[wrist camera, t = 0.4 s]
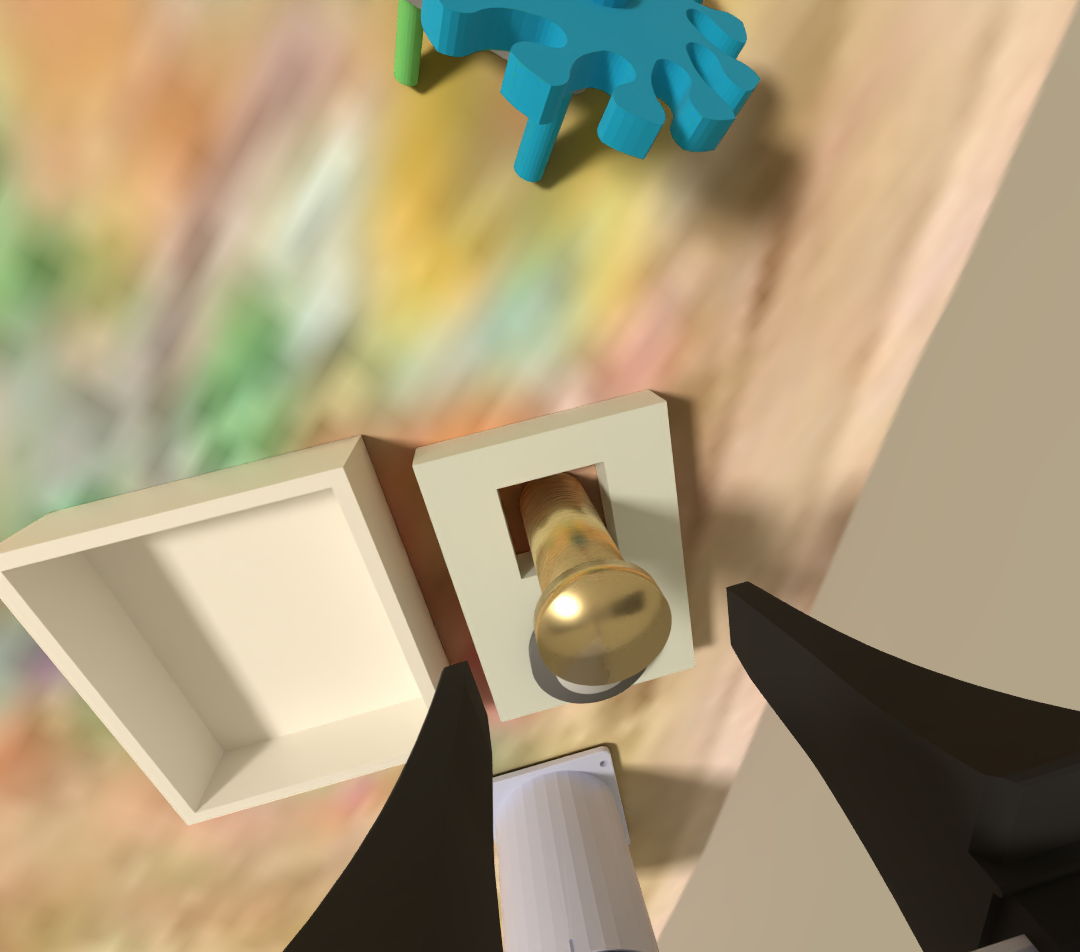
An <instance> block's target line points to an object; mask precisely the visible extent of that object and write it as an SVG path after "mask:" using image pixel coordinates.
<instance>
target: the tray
mask: <svg viewBox="0 0 1080 952" xmlns="http://www.w3.org/2000/svg"><path fill="white" fill-rule="evenodd" d="M0 599H1V600H2V601H3V602H4V604H5V605H6V606H7V607H8V608H9V610H10V611H11V612H12V613H13V614H14V616H15V617H16V618H17V619H18V620H19V622H20V623H21V624H22V625H23V627H24V628H25V629H26V630H27V631H28V633H29V634H30V635H31V636H32V637H33V639H34V640H35V641H36V642H37V643H38V645H39V646H40V647H41V648H42V650H43V651H44V652H45V653H46V654H47V656H48V657H49V658H50V659H51V660H52V662H53V663H54V664H55V665H56V666H57V668H58V669H59V670H60V671H61V673H62V674H63V675H64V676H65V677H66V679H67V680H68V681H69V682H70V683H71V685H72V686H73V687H74V688H75V689H76V691H77V692H78V693H79V694H80V696H81V697H82V698H83V699H84V700H85V702H86V703H87V704H88V705H89V706H90V708H91V709H92V710H93V711H94V712H95V714H96V715H97V716H98V717H99V719H100V720H101V721H102V722H103V723H104V725H105V726H106V727H107V728H108V729H109V731H110V732H111V733H112V734H113V735H114V737H115V738H116V739H117V740H118V742H119V743H120V744H121V745H122V746H123V748H124V749H125V750H126V751H127V752H128V754H129V755H130V756H131V757H132V758H133V760H134V761H135V762H136V763H137V765H138V766H139V767H140V768H141V769H142V771H143V772H144V773H145V774H146V775H147V777H148V778H149V779H150V780H151V781H152V783H153V784H154V785H155V786H156V788H157V789H158V790H159V791H160V792H161V794H162V795H163V796H164V797H165V798H166V800H167V801H168V802H169V803H170V804H171V806H172V807H173V808H174V809H175V811H176V812H177V813H178V814H179V815H180V817H181V818H182V819H183V820H184V821H185V823H186V824H187V825H192V824H195V823H199V822H202V821H206V820H209V819H213V818H216V817H219V816H223V815H226V814H230V813H233V812H237V811H240V810H244V809H247V808H251V807H254V806H258V805H261V804H265V803H268V802H272V801H275V800H279V799H282V798H286V797H289V796H293V795H296V794H300V793H303V792H307V791H310V790H314V789H317V788H321V787H324V786H328V785H331V784H335V783H338V782H342V781H345V780H349V779H352V778H356V777H359V776H362V775H366V774H369V773H373V772H376V771H380V770H383V769H387V768H390V767H394V766H397V765H401V764H404V763H406V762H407V760H408V758H409V755H410V753H411V751H412V749H413V747H414V745H415V742H416V740H417V737H418V735H419V733H420V730H421V728H422V725H423V723H424V720H425V718H426V715H427V713H428V710H429V707H430V705H431V702H432V699H433V697H434V694H435V691H436V688H437V685H438V682H439V679H440V676H441V672H442V670H443V669H444V667H447V666H450V665H449V662H448V660H447V657H446V655H445V652H444V649H443V647H442V644H441V642H440V639H439V636H438V634H437V631H436V629H435V626H434V623H433V621H432V618H431V615H430V613H429V610H428V608H427V605H426V602H425V600H424V597H423V595H422V592H421V589H420V587H419V584H418V582H417V579H416V576H415V574H414V571H413V569H412V566H411V563H410V561H409V558H408V556H407V553H406V550H405V548H404V545H403V543H402V540H401V537H400V535H399V532H398V530H397V527H396V524H395V522H394V519H393V517H392V514H391V511H390V509H389V506H388V504H387V501H386V498H385V496H384V493H383V491H382V488H381V485H380V483H379V480H378V478H377V475H376V472H375V470H374V467H373V465H372V462H371V459H370V457H369V454H368V451H367V449H366V446H365V444H364V441H363V438H362V436H361V435H358V436H354V437H350V438H346V439H342V440H338V441H334V442H330V443H326V444H322V445H318V446H314V447H310V448H306V449H302V450H298V451H294V452H290V453H286V454H282V455H278V456H274V457H270V458H266V459H262V460H258V461H254V462H250V463H246V464H242V465H238V466H234V467H230V468H226V469H222V470H218V471H214V472H210V473H206V474H202V475H198V476H194V477H190V478H186V479H182V480H178V481H174V482H170V483H166V484H162V485H158V486H154V487H150V488H146V489H142V490H138V491H134V492H130V493H126V494H122V495H118V496H114V497H110V498H106V499H102V500H98V501H94V502H90V503H86V504H82V505H78V506H74V507H70V508H66V509H62V510H58V511H54V512H50V513H48V514H47V515H45V516H43V517H42V518H40V519H38V520H37V521H35V522H33V523H32V524H30V525H29V526H27V527H25V528H24V529H22V530H20V531H19V532H17V533H15V534H14V535H12V536H10V537H9V538H7V539H6V540H4V541H2V542H1V543H0Z"/></svg>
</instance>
